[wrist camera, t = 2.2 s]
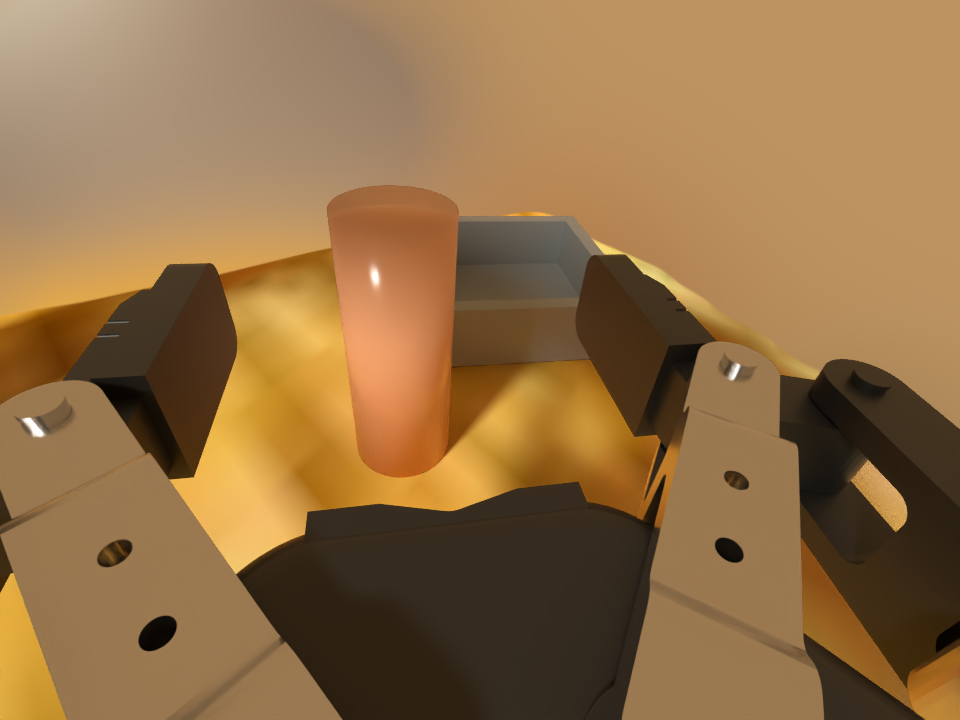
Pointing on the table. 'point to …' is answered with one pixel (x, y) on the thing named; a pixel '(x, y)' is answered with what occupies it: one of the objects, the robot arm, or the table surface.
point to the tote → (518, 289)
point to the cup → (397, 320)
